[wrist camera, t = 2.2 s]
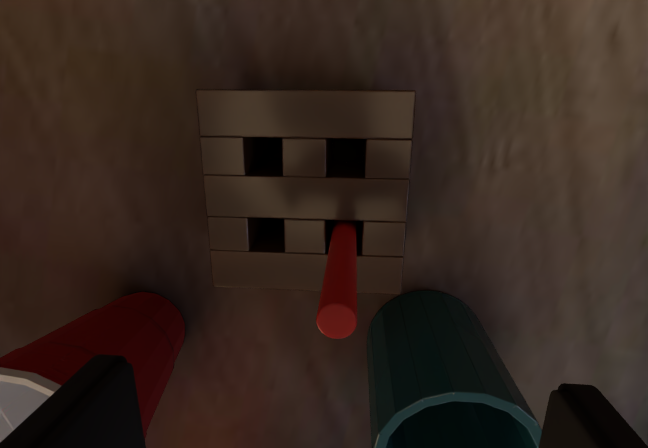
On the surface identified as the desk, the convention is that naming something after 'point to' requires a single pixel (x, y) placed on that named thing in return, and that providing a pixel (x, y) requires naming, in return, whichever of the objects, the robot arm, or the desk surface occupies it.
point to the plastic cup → (84, 343)
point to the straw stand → (304, 184)
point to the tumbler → (441, 380)
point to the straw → (339, 283)
